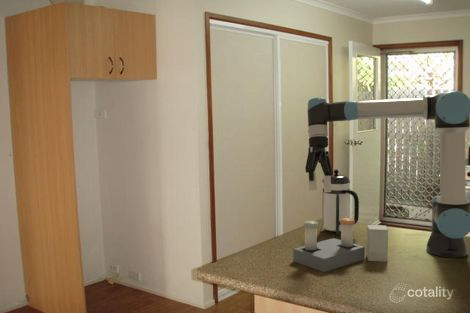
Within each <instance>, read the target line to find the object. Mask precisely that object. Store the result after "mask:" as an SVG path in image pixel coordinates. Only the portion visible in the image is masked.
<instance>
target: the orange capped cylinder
mask: <svg viewBox="0 0 470 313" xmlns="http://www.w3.org/2000/svg"><path fill="white" fill-rule="evenodd" d="M340 223H341V231H340V240H341V246H344V247H351V246H353V244H354V225H355V224H354V223H355V220H354V218H350V217H349V218H341V219H340Z"/></svg>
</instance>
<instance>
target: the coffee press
mask: <svg viewBox="0 0 470 313" xmlns="http://www.w3.org/2000/svg"><path fill="white" fill-rule="evenodd" d="M321 182H322V185H323V186H322V225H321V227H320V228H319V230H320V232H321V233H323V232H324V231H330V232H335V236H340V232H341V223H340V219H341V218H350V196H352V197H353V200H354V201H353V202H354V203H353V204H354V209H353V210H354V212H353V213H354V214H353V215H354V216H353V219H354V220H355V223H354V224H353V225H356V224H357V223H358V221H359V216H360V215H359V214H360V212H359V211H360V210H359V209H360V203H359V202H360V201H359V200H360V199H359V197H358V193H357V192H356V191H354V190H352V189H350V183H351V180H350V179H349V177H348V176H347V175H345V174H341V173H340V174H339V170H338V169H334V170H333V176H331V192H324V178H323V179H322V180H321Z"/></svg>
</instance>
